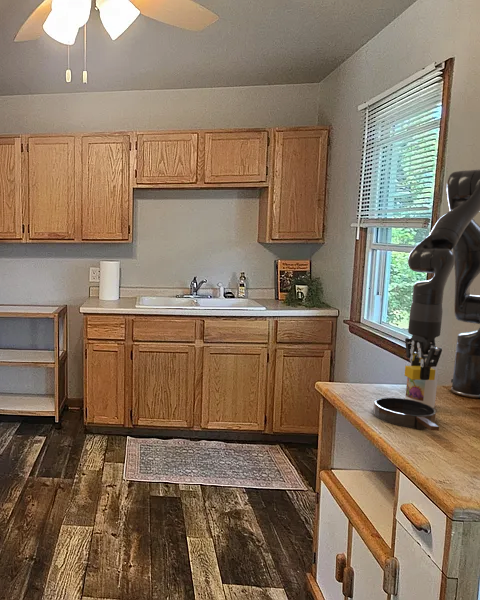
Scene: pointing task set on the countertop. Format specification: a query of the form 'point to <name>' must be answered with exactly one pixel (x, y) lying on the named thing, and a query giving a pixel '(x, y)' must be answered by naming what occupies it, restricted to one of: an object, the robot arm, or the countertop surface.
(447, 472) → the countertop surface
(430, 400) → the milk bottle
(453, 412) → the countertop surface
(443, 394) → the countertop surface
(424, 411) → the pan
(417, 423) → the pan handle
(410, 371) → the sponge
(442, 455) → the countertop surface
